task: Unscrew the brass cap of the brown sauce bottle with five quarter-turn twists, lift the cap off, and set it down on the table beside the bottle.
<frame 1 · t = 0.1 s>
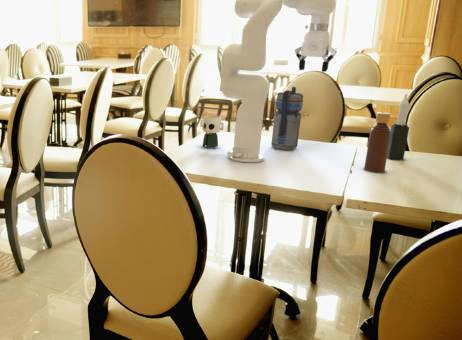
hand: (312, 70, 216), 31 cm above the table, tool pointing down, fingers open, 9 cm apart
cap: (383, 114, 177), point 20 cm above the table, screwed on, not yet turned
toy figurine: (210, 147, 214), on the table
sauce bottle: (374, 170, 182), on the table
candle: (394, 158, 199), on the table
beverage bottle: (283, 148, 214), on the table
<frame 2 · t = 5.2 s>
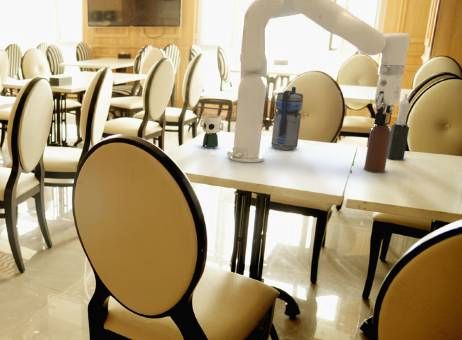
hand: (382, 123, 178), 17 cm above the table, tool pointing down, fingers closed on cap, 4 cm apart
cap: (383, 114, 177), point 20 cm above the table, screwed on, not yet turned, touching gripper
everything else where it was.
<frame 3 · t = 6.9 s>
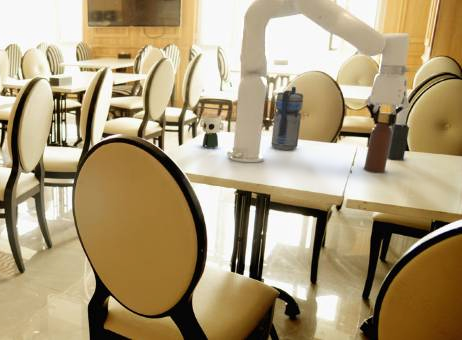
hand: (383, 124, 178), 17 cm above the table, tool pointing down, fingers closed on cap, 4 cm apart
cap: (385, 113, 177), point 20 cm above the table, turned 89° so far, risen 0.1 cm, still on its thread, touching gripper
everything else where it was.
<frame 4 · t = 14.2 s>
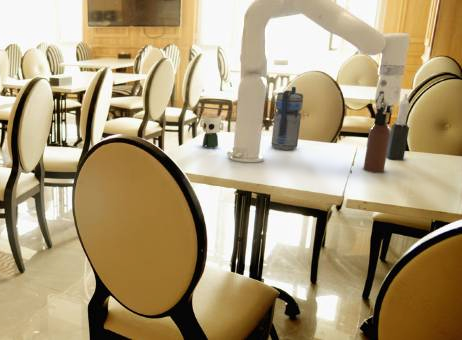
hand: (382, 123, 178), 17 cm above the table, tool pointing down, fingers closed on cap, 3 cm apart
cap: (383, 113, 177), point 20 cm above the table, turned 89° so far, risen 0.1 cm, still on its thread, touching gripper
everything else where it was.
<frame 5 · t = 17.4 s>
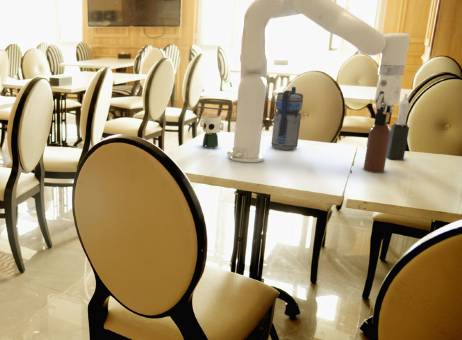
hand: (382, 123, 178), 17 cm above the table, tool pointing down, fingers closed on cap, 3 cm apart
cap: (383, 113, 177), point 20 cm above the table, turned 177° so far, risen 0.2 cm, still on its thread, touching gripper
everything else where it was.
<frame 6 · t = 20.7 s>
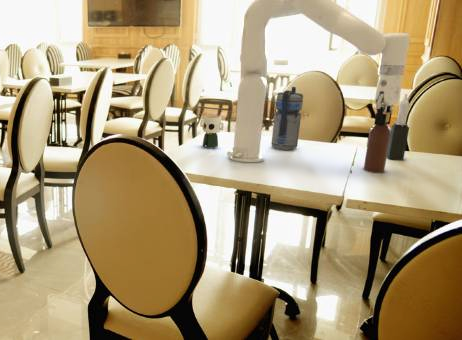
hand: (382, 123, 178), 17 cm above the table, tool pointing down, fingers closed on cap, 3 cm apart
cap: (383, 113, 177), point 20 cm above the table, turned 265° so far, risen 0.3 cm, still on its thread, touching gripper
everything else where it was.
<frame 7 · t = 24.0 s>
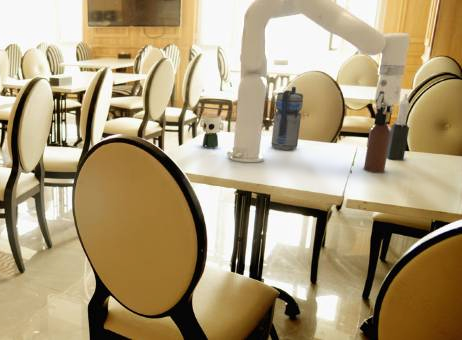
hand: (382, 123, 178), 17 cm above the table, tool pointing down, fingers closed on cap, 3 cm apart
cap: (383, 112, 177), point 20 cm above the table, turned 352° so far, risen 0.4 cm, still on its thread, touching gripper
everything else where it was.
when the fingers open (1 cm above the table, at t = 34.7 s): cap drops 2 cm, point 3 cm above the table.
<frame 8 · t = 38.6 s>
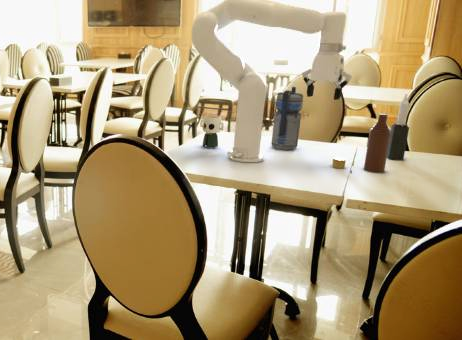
hand: (323, 97, 184), 24 cm above the table, tool pointing down, fingers open, 9 cm apart
cap: (339, 159, 185), point 3 cm above the table, off its thread
everything else where it was.
at the end: the gripper is holding nothing; cap point 2.8 cm above the table; cap inside the target area (0.1 cm from its centre), point 2.8 cm above the table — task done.
